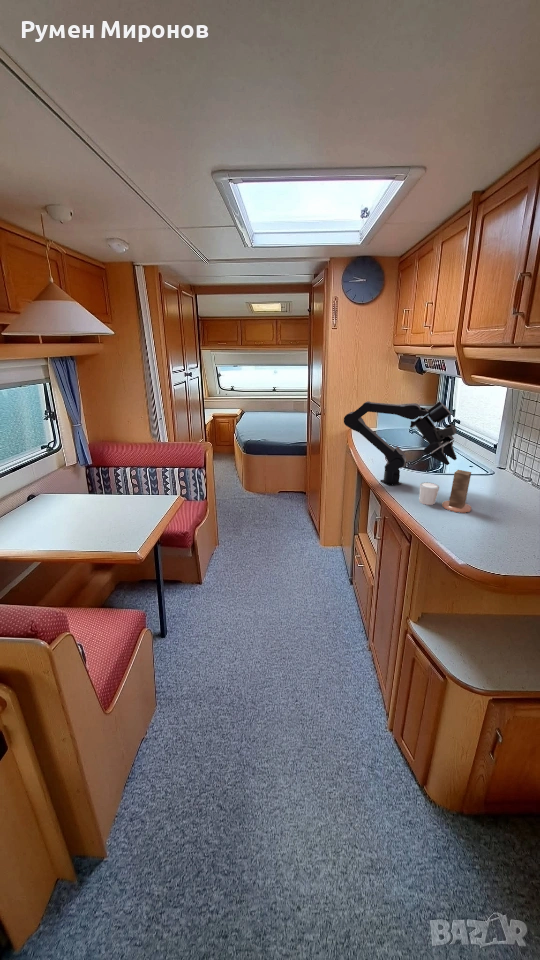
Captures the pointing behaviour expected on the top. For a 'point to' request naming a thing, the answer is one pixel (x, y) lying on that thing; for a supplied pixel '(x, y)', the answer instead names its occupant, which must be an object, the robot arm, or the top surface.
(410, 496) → the top surface
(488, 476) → the top surface
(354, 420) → the robot arm
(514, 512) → the top surface
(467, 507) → the orange flat disc
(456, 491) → the walnut block
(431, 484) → the white short cylinder
